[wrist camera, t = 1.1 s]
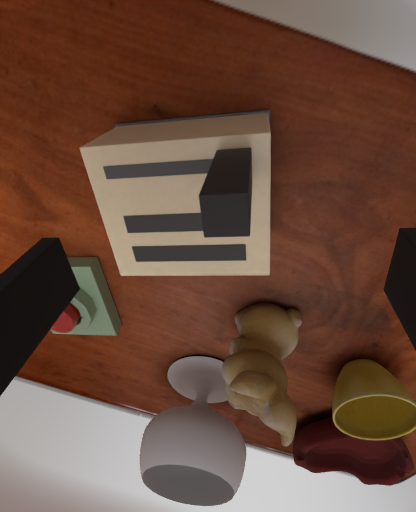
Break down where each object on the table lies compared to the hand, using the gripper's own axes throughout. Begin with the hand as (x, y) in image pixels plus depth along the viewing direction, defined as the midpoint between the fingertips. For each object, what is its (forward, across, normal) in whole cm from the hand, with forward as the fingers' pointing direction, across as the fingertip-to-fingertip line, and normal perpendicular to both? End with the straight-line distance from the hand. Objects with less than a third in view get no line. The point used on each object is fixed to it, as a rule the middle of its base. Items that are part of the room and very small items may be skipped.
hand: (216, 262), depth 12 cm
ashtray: (+21, +16, -48) cm, 54 cm away
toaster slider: (+12, 0, 0) cm, 12 cm away
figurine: (+20, +2, -23) cm, 30 cm away
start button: (+17, -24, -19) cm, 34 cm away
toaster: (+20, -4, -4) cm, 21 cm away
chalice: (+20, -8, -37) cm, 43 cm away
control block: (+20, -24, -19) cm, 36 cm away
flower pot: (+20, +16, -33) cm, 41 cm away
